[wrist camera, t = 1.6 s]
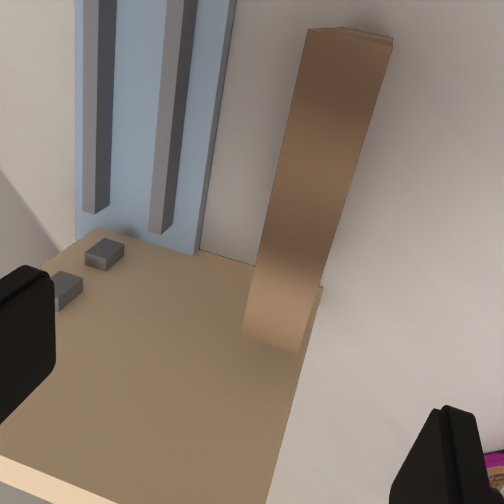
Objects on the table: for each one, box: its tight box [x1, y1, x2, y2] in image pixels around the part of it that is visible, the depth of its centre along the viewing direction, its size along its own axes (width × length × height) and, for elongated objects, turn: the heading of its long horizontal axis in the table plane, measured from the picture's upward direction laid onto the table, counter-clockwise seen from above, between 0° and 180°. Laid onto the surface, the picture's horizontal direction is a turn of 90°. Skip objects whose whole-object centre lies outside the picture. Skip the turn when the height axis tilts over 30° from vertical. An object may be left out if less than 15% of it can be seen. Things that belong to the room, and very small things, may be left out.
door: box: [240, 27, 393, 354], centre depth 25 cm, size 15×3×12 cm, turn 169°
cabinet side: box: [0, 0, 323, 504], centre depth 22 cm, size 24×20×20 cm
